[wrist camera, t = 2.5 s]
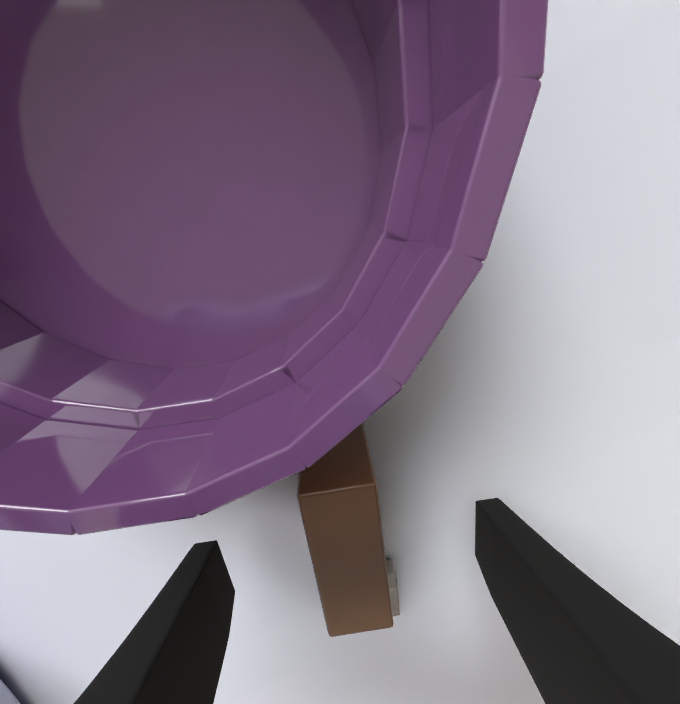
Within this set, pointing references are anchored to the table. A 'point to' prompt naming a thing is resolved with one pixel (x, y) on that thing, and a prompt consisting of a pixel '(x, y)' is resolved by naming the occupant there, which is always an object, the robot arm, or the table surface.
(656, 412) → the table surface
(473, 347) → the table surface
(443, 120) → the bowl
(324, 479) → the fork with wooden handle
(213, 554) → the robot arm
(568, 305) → the table surface
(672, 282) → the table surface
